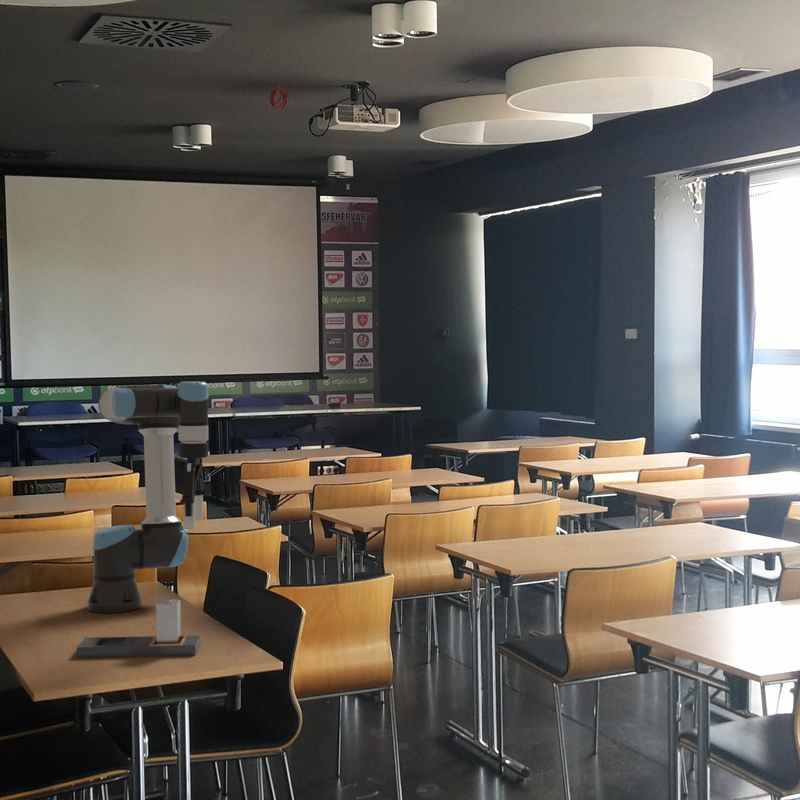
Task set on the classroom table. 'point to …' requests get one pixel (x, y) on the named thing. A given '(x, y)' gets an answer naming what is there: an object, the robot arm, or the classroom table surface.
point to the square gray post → (168, 622)
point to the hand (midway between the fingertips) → (193, 524)
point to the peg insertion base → (136, 647)
